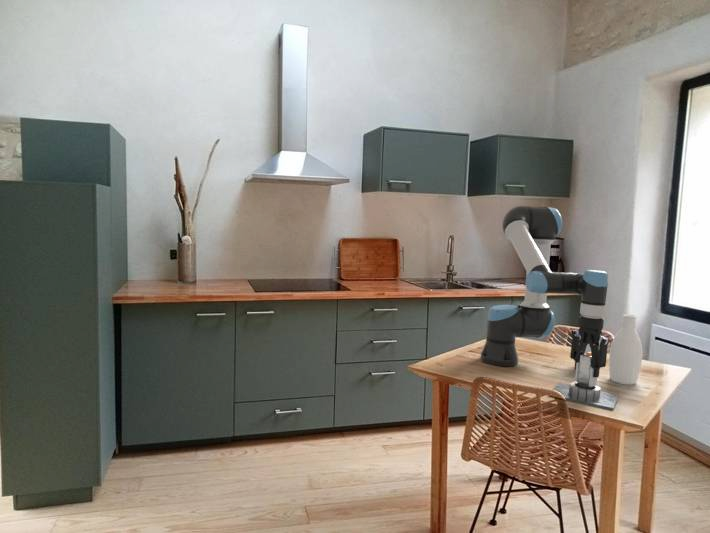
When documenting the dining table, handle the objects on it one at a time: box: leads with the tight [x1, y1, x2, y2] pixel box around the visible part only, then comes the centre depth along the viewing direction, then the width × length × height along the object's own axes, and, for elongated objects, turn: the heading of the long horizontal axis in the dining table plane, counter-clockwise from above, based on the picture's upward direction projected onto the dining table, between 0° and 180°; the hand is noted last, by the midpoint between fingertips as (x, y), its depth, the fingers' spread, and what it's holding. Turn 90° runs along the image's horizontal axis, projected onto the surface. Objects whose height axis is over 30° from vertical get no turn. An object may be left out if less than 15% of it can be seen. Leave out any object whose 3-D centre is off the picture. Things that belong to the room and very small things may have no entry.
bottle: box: [608, 313, 643, 386], centre depth 202 cm, size 11×11×25 cm
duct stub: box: [577, 352, 593, 389], centre depth 182 cm, size 5×5×13 cm
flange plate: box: [552, 380, 620, 411], centre depth 183 cm, size 20×16×4 cm
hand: (585, 383), depth 183 cm, fingers closed on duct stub, 5 cm apart
